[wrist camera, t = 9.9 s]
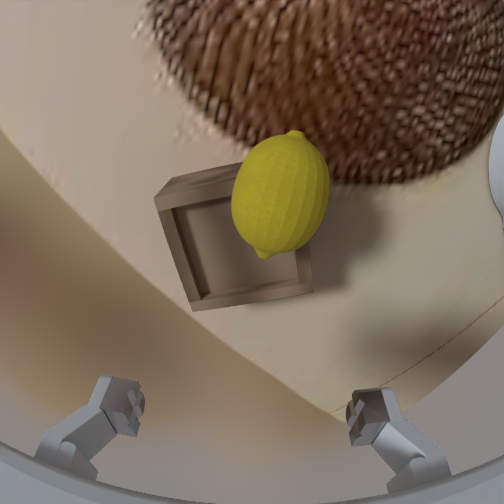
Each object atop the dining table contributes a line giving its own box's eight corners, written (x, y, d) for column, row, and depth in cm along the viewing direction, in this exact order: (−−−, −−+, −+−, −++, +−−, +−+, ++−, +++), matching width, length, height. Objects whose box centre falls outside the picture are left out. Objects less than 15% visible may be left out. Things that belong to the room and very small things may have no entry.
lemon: (322, 280, 19) (364, 150, 16) (239, 279, 16) (280, 121, 13) (279, 243, 23) (309, 136, 20) (207, 237, 21) (235, 116, 18)
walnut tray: (287, 153, 26) (297, 168, 20) (302, 256, 30) (313, 292, 25) (172, 176, 26) (153, 198, 21) (201, 274, 31) (192, 311, 26)
